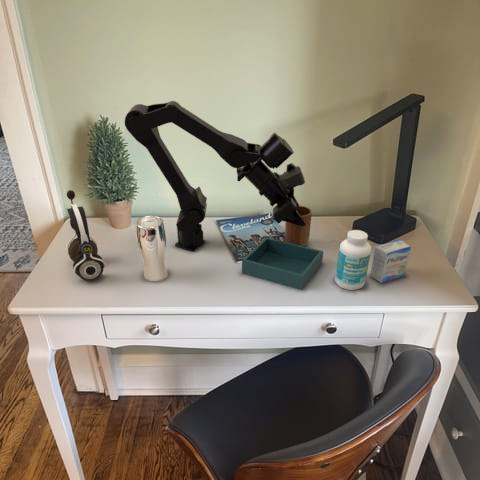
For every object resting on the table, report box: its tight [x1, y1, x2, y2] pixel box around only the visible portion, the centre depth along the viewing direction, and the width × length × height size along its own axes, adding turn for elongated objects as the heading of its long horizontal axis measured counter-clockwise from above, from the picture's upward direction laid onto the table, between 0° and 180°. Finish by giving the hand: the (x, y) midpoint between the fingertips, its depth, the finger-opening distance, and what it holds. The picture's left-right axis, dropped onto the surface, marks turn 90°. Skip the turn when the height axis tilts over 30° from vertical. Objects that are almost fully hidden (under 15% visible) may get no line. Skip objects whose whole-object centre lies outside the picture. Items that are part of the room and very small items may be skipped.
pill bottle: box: [334, 229, 372, 291], centre depth 120 cm, size 8×7×14 cm
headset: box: [66, 189, 106, 282], centre depth 123 cm, size 17×8×20 cm, turn 24°
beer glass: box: [134, 215, 169, 282], centre depth 122 cm, size 7×7×15 cm
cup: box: [283, 205, 313, 247], centre depth 136 cm, size 7×7×9 cm
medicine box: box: [369, 239, 412, 284], centre depth 124 cm, size 8×4×9 cm, turn 117°
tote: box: [241, 237, 324, 291], centre depth 128 cm, size 17×14×4 cm
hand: (303, 219), depth 135 cm, fingers closed on cup, 7 cm apart
